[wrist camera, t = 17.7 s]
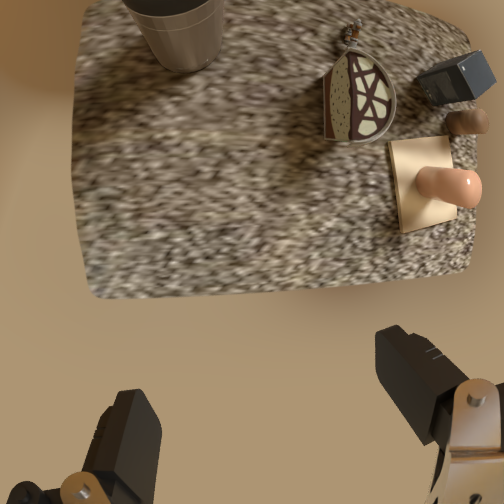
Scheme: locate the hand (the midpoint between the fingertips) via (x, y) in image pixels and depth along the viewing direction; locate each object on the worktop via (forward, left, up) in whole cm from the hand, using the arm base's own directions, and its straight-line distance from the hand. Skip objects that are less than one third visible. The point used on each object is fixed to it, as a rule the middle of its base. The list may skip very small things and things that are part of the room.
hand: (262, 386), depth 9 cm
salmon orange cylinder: (+1, +31, -32) cm, 45 cm away
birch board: (+1, +31, -33) cm, 45 cm away
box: (-15, +38, -33) cm, 53 cm away
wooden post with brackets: (-21, +22, -34) cm, 45 cm away
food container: (-11, +19, -33) cm, 40 cm away
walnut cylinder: (-8, +40, -33) cm, 53 cm away
